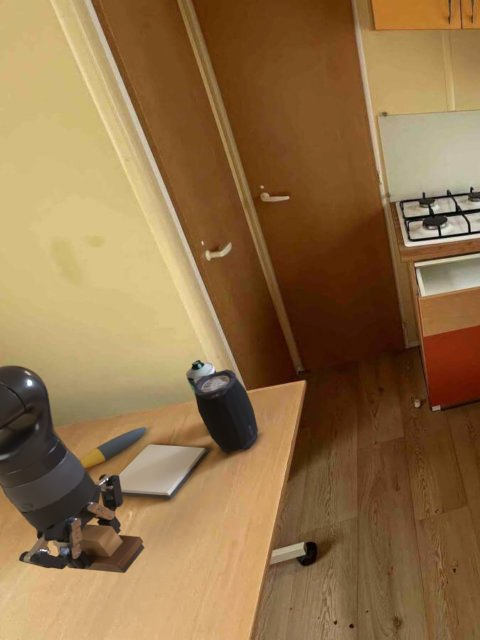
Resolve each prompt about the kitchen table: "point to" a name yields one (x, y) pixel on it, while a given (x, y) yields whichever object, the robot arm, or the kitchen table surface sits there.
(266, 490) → the kitchen table surface
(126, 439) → the paintbrush
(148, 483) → the tile
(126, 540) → the two-tone stacked block
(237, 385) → the portable speaker
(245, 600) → the kitchen table surface
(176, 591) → the kitchen table surface
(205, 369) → the spray can
